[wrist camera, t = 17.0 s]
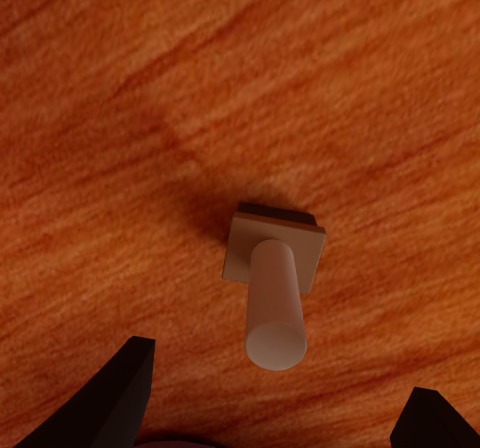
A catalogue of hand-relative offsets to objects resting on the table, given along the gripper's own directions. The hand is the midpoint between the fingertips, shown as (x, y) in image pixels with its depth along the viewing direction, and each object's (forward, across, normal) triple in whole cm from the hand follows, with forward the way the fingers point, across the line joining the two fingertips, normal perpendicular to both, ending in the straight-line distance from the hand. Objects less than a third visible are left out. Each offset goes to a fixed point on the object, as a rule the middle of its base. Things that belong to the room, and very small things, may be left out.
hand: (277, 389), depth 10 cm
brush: (+10, 0, 0) cm, 10 cm away
